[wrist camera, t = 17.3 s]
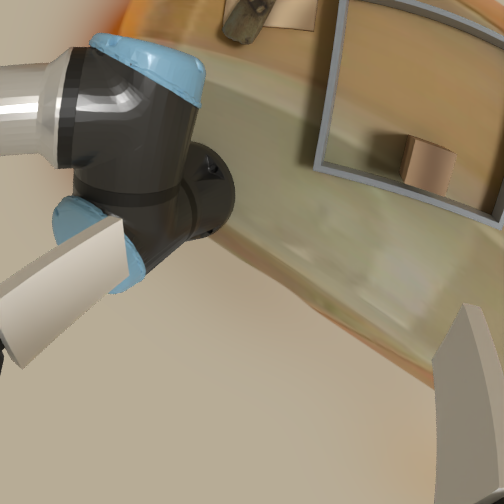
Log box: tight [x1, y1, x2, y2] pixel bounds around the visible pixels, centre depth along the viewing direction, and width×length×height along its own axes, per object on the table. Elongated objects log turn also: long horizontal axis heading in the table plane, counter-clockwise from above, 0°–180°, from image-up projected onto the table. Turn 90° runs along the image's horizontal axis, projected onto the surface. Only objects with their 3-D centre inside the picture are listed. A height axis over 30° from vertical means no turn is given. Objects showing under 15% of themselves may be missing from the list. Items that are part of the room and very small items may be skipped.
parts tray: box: [313, 0, 504, 230], centre depth 28 cm, size 26×24×3 cm
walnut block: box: [399, 135, 457, 197], centre depth 31 cm, size 5×5×6 cm
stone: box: [222, 0, 276, 44], centre depth 29 cm, size 13×5×2 cm, turn 154°
